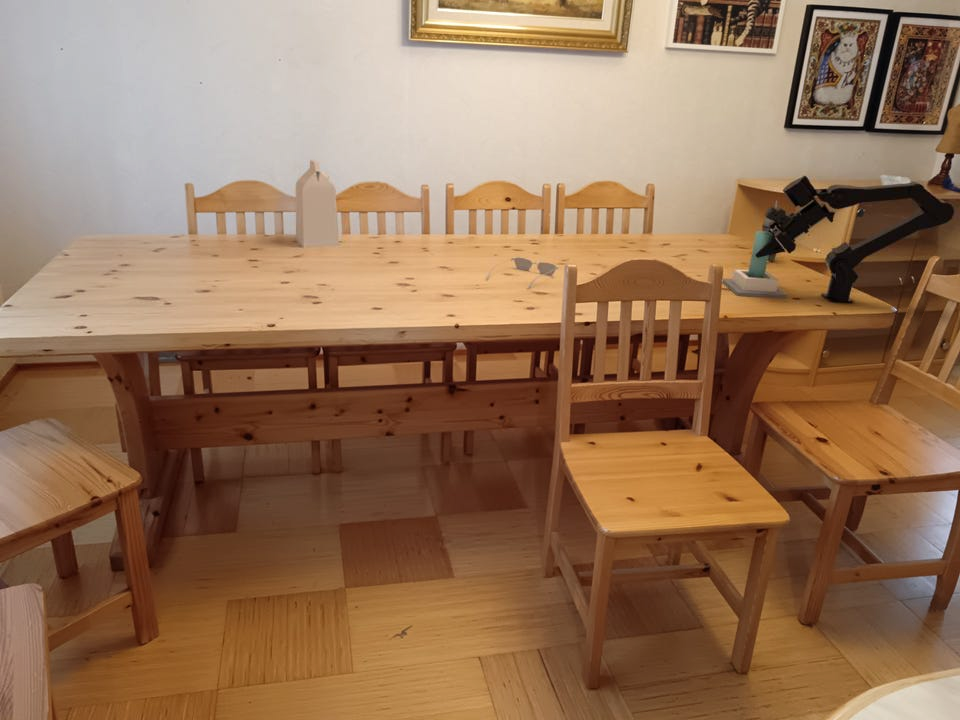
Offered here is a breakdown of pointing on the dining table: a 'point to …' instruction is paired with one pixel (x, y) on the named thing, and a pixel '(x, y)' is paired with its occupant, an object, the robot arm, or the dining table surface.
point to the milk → (316, 209)
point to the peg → (760, 263)
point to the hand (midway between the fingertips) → (755, 254)
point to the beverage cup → (765, 228)
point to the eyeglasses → (526, 265)
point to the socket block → (754, 285)
